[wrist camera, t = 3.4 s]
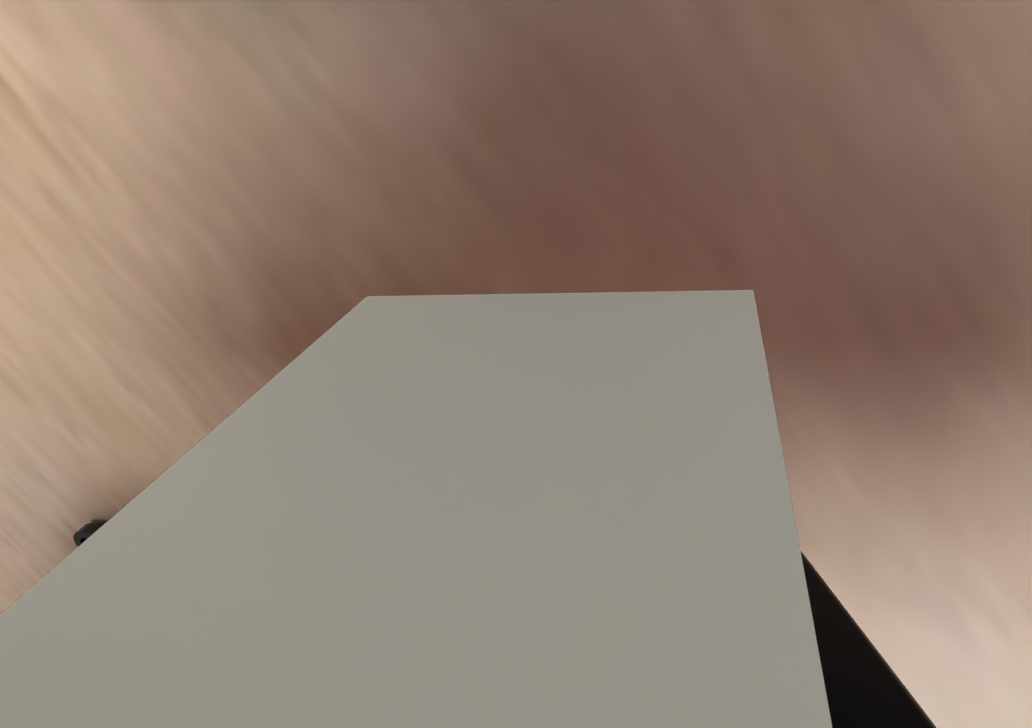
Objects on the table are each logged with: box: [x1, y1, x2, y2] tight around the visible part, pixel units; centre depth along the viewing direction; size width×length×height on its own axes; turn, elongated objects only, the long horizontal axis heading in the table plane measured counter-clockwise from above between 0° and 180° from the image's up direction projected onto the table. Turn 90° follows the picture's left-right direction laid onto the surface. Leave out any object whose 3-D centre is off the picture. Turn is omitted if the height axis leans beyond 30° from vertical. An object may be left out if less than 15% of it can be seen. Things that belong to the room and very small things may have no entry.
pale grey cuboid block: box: [0, 290, 832, 728], centre depth 6 cm, size 4×6×7 cm
